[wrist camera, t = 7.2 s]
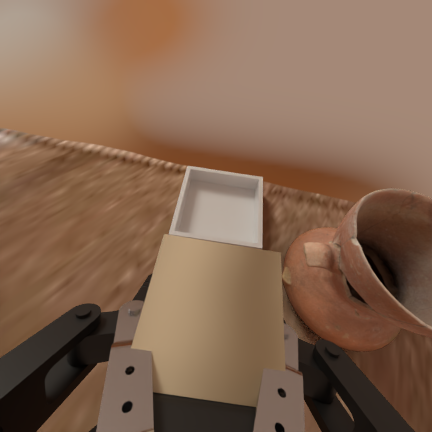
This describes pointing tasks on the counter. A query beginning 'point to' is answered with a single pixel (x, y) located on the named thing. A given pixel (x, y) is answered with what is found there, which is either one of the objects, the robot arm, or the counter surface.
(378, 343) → the ceramic jug
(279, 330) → the block
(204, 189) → the tray
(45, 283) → the counter surface
